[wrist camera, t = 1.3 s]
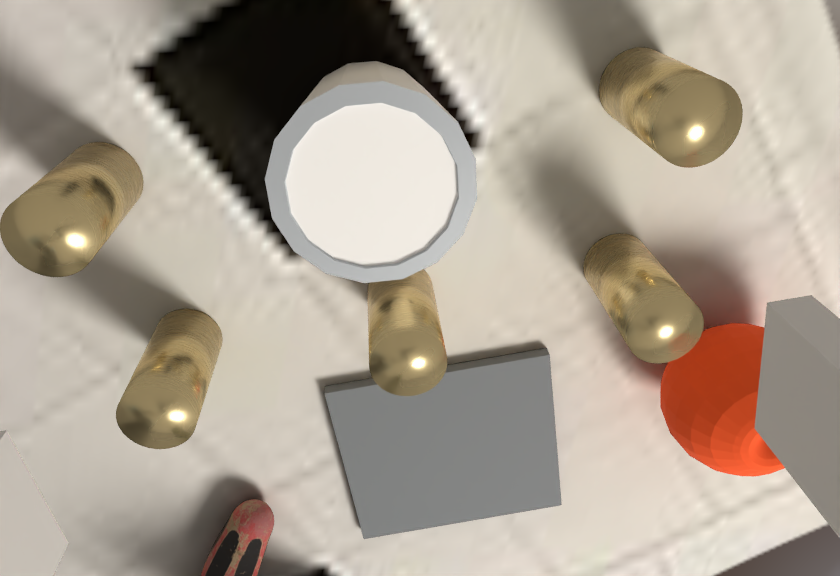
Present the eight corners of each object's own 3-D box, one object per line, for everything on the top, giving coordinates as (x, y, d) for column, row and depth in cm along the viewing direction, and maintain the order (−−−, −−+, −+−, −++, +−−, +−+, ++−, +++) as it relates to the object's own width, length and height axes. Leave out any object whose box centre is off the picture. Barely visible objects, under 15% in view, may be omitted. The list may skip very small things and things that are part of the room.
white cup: (287, 34, 27) (266, 69, 21) (465, 54, 28) (495, 94, 21) (282, 203, 30) (262, 277, 24) (441, 216, 31) (462, 292, 25)
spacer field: (147, 372, 33) (106, 458, 28) (-31, -58, 25) (-138, -51, 19) (668, 282, 33) (727, 352, 28) (675, -182, 24) (763, -209, 19)
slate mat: (363, 530, 39) (363, 539, 39) (324, 386, 34) (324, 393, 34) (558, 497, 39) (561, 505, 39) (546, 348, 34) (549, 354, 34)
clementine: (769, 259, 33) (865, 339, 27) (811, 360, 36) (907, 454, 30) (616, 342, 35) (673, 436, 28) (669, 432, 38) (731, 536, 31)
